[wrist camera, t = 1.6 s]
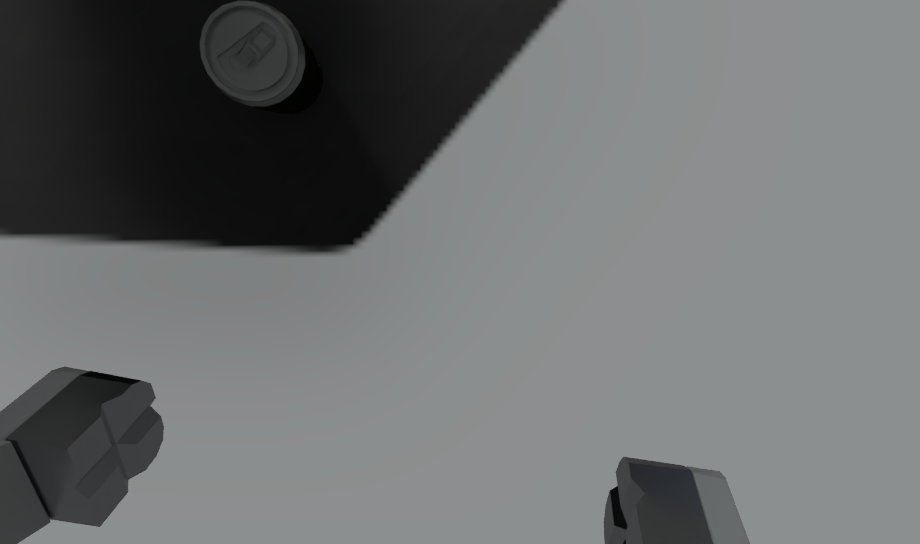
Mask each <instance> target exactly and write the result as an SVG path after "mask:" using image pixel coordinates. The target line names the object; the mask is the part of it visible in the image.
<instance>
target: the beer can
mask: <svg viewBox="0 0 920 544" xmlns="http://www.w3.org/2000/svg"><path fill="white" fill-rule="evenodd" d="M200 52H201V59H202V61H203V64H204V66H205V69H206V71H207V73H208V76H209V78H210V79H211V80H212V81H213V83H214V84H215V85H216V86H217V88H218V89H219V90H220V91H221V92H222V93H224V94H225V95H227V96H228V97H229V98H231V99H232V100H234V101H236V102H239V103H242V104H245V105H248V106H251V107H256V108H260V109H264V110H268V111H272V112H277V113H281V114H294V113H297V112H300V111H304V110H305V109H306V108H308V107H309V106H311V105H312V104H313V103H314V102H315V100H316V99H317V97H318V96H319V94H320V90H321V87H322V83H323V81H322V69H321V66H320V63H319V61H318V58H317V57H316V56H315V54H314V53H313V51H312V50H311V49H310V47H309V46H308V45H307V43H306V42H305V40H304V39H303V38H302V36H301V35H300V34H299V32H298V31H297V29H296V28H295V27H294V25H293V24H292V23H291V21H290V20H289V18H287V17H286V16H285V15H283V14H282V13H281V12H280V11H278V10H277V9H276V8H274V7H272V6H269V5H267V4H264V3H261V2H259V1H243V0H241V1H235V2H231V3H228V4H224V5H222V6H221V7H220V8H218V9H217V10H216V11H214V12H213V13H212V14H211V15H210V16H209V18H208V20H207V21H206V23H205V24H204V26H203V29H202V33H201V38H200Z"/></svg>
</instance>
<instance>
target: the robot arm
mask: <svg viewBox="0 0 920 544" xmlns="http://www.w3.org/2000/svg"><path fill="white" fill-rule="evenodd" d="M154 399H155V395H154V392H153V389H152V386H151V384H150V383H147V382H144V381H141V380H135V379H130V378H124V377H119V376H114V375H109V374H103V373H98V372H92V371H84V370H79V369H74V368H68V367H62V368H59V369H55V370H52V371H51V372H50V373H48V374H47V375H46V376H45V377H43V378H42V379H41V380H40V381H38V382H37V383H36V384H35V385H33V386H32V387H31V388H30V389H28V390H27V391H26V392H24V393H23V394H22V395H21V396H19V397H18V398H17V399H16V400H14V402H12V403H11V404H10V405H8V406H7V407H6V408H5V409H3V410H2V411H1V412H0V544H17V543H19V542H20V541H22V540H23V539H25V538H26V537H28V536H30V535H31V534H33V533H34V532H36V531H38V530H39V529H41V528H42V527H44V526H45V525H47V524H48V523H50V519H52V520H59V521H66V522H73V523H79V524H85V525H92V526H98V527H100V526H101V525H102V523H103V522H104V521H105V520H106V519H107V517H108V516H109V515H110V514H111V512H112V511H113V510H114V509H115V507H116V506H117V505H118V504H119V502H120V501H121V500H122V499H123V498H124V496H125V495H126V494H127V493H128V479H130V478H132V477H134V476H136V475H138V474H139V473H141V472H143V471H145V470H146V469H147V467H148V466H149V465H150V464H151V462H152V461H153V460H154V458H155V457H156V455H157V453H158V451H159V448H160V445H161V443H162V441H163V430H164V426H163V423H162V419H161V416H160V415H159V414H158V413H157V412H156V411H155V410H154V409H153V408H152V407H151V406H150V405H151V404H152V402H153V401H154ZM616 476H617V484H618V486H617V487H615V488H613V489H612V490H610V492H609V496H608V499H607V503H606V509H605V517H604V538H605V544H750V543H749V540H748V538H747V535H746V532H745V529H744V527H743V524H742V521H741V519H740V516H739V513H738V511H737V508H736V505H735V503H734V500H733V497H732V494H731V492H730V489H729V486H728V484H727V481H726V478H725V477H724V476H723V475H722V473H721V472H720V471H713V470H707V469H699V468H693V467H685V466H681V465H675V464H668V463H661V462H655V461H647V460H641V459H635V458H628V457H623V458H622V460H621V461H620V462H619V465H618V468H617V471H616Z"/></svg>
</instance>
